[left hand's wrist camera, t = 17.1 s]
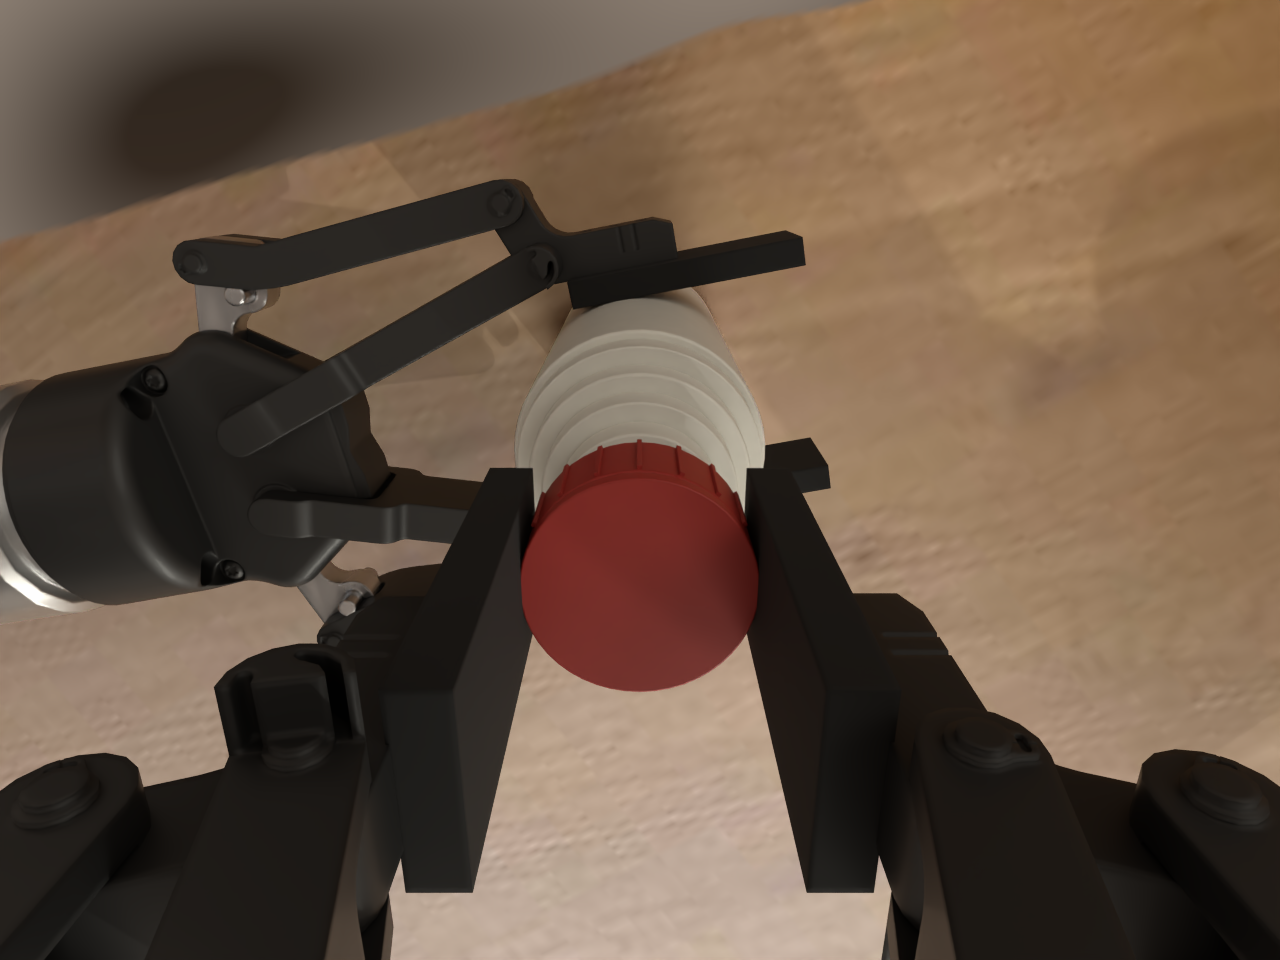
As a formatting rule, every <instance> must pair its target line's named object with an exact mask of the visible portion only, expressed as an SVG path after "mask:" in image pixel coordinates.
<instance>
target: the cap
mask: <svg viewBox="0 0 1280 960" xmlns="http://www.w3.org/2000/svg"><path fill="white" fill-rule="evenodd" d="M531 526H532V530H531V533H530V536H529V540H528V543H527V546H526V550H525V553H524V556H523V559H522V563H521V589H522V605H523V613H524V616H525V619H526V621H527V623H528V626H529V628H530V630H531V632H532V633H533V635H534V637H535V638H536V640H537V641H538V643H539V644H540V645H541V647H542V648H543V649H544V650H545V651H546V653H547V654H548V655H549V656H550V657H552V658H553V659H554V660H555V661H556V662H557V663H558V664H559V665H561V666H562V667H563V668H565V669H566V670H568V671H569V672H571V673H572V674H574V675H576V676H578V677H580V678H581V679H584V680H586V681H588V682H591V683H593V684H596V685H599V686H603V687H606V688H610V689H615V690H621V691H633V692H646V691H658V690H664V689H670V688H673V687H677V686H680V685H683V684H686V683H688V682H691V681H693V680H696V679H698V678H700V677H701V676H703V675H705V674H707V673H709V672H710V671H712V670H713V669H714V668H716V667H717V666H718V665H720V664H721V663H722V662H723V661H724V660H726V659H727V658H728V657H729V656H730V655H731V654H732V653H733V652H734V650H735V649H736V648H737V647H738V645H739V644H740V643H741V642H742V640H743V638H744V637H745V635H746V634H747V632H748V630H749V628H750V626H751V624H752V621H753V619H754V617H755V613H756V609H757V597H758V579H759V568H758V562H757V559H756V556H755V552H754V549H753V546H752V542H751V539H750V536H749V532H748V529H747V526H748V524H747V521H746V517H745V514H744V511H743V507H742V504H741V501H740V498H739V494H738V493H737V491H736V492H734V493H733V491H732V490H731V488H730V487H729V485H728V484H727V482H726V481H725V480H724V479H723V478H722V477H721V476H720V475H719V474H718V473H717V472H716V469H715V466H714V465H713V464H712V463H711V464H710V465H708V464H707V463H705V462H704V461H702V460H700V459H699V458H697V457H696V456H694V455H692V454H690V453H687V452H685V451H683V450H682V449H681V446H678V445H677V446H676V448H674V447H671V446H668V445H662V444H657V443H647V442H642V439H637V442H633V443H622V444H617V445H612V446H608V447H605V448H603V446H602V445H601V446H598V448H597V450H596V451H594V452H592V453H590V454H588V455H585V456H583V457H582V458H580V459H579V460H577V461H576V462H574V463H573V464H571V465H570V466H569V465H568V464H566V465H565V466H564V468H563V472H562V473H561V474H560V475H559V476H558V477H557V478H556V479H555V481H554V482H553V483H552V484H551V486H550V487H549V489H548V490H547V492H546V493H544V492H542V493H541V495H540V498H539V501H538V505H537V508H536V511H535V514H534V517H533V521H532V524H531Z"/></svg>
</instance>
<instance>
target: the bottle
mask: <svg viewBox="0 0 1280 960" xmlns="http://www.w3.org/2000/svg"><path fill="white" fill-rule="evenodd" d="M637 439H642V442H647V443H657V444H662V445H668V446H671V447H674V448H676V446H677V445H678V446H681V449H682V450H683V451H685V452H687V453H690V454H692V455H694V456H696V457H697V458H699V459H700V460H702V461H704V462H705V463H707V464H708V465H710V464H711V463H712V464H713V465H714V466H715V469H716V472H717V473H718V474H719V475H720V476H721V477H722V478H723V479H724V480H725V481H726V482H727V484H728V485H729V487H730V488H731V490H732V491H733V493H734V492H736V491H737V493H738V494H739V498H740V501H741V504H742V507H743V511H744V510H745V490H746V470H747V468H763V466H764V460H765V438H764V429H763V424H762V420H761V416H760V412H759V410H758V407H757V405H756V403H755V400H754V398H753V396H752V394H751V392H750V390H749V388H748V386H747V384H746V382H745V380H744V378H743V376H742V374H741V372H740V370H739V368H738V366H737V364H736V362H735V360H734V358H733V356H732V354H731V352H730V350H729V348H728V346H727V344H726V342H725V340H724V338H723V336H722V334H721V332H720V330H719V328H718V326H717V324H716V323H715V321H714V319H713V317H712V315H711V313H710V311H709V309H708V307H707V306H706V304H705V302H704V301H703V300H702V298H701V297H700V296H699V294H698V293H697V292H696V291H695V290H694V289H693V288H692V287H689V288H684V289H679V290H673V291H668V292H663V293H658V294H653V295H647V296H642V297H637V298H632V299H627V300H621V301H615V302H611V303H606V304H601V305H595V306H590V307H585V308H580V309H574V310H573V307H572V308H571V310H570V312H569V314H568V316H567V318H566V320H565V322H564V324H563V326H562V328H561V330H560V332H559V334H558V336H557V338H556V340H555V342H554V344H553V346H552V348H551V350H550V352H549V354H548V356H547V358H546V360H545V362H544V364H543V366H542V368H541V370H540V371H539V373H538V375H537V377H536V379H535V381H534V383H533V385H532V387H531V389H530V391H529V393H528V395H527V397H526V399H525V401H524V403H523V406H522V409H521V412H520V415H519V418H518V421H517V427H516V432H515V445H514V453H515V464H516V468H533V481H534V501H535V511H536V508H537V505H538V501H539V498H540V495H541V493H542V492H544V493H546V492H547V490H548V489H549V487H550V486H551V484H552V483H553V482H554V481H555V479H556V478H557V477H558V476H559V475H560V474H561V473H562V472H563V468H564V466H565V465H566V464H568V465H569V466H570V465H571V464H573V463H574V462H576V461H577V460H579V459H580V458H582V457H583V456H585V455H588V454H590V453H592V452H594V451H596V450H597V448H598V446H601V445H602V446H603V448H605V447H608V446H612V445H617V444H622V443H633V442H637Z"/></svg>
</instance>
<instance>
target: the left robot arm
mask: <svg viewBox="0 0 1280 960" xmlns="http://www.w3.org/2000/svg"><path fill="white" fill-rule="evenodd" d="M534 514H535V501H534V481H533V468H490V469H489V471H488V473H487V475H486V477H485V479H484V481H483V483H482V485H481V487H480V489H479V491H478V493H477V495H476V497H475V499H474V501H473V503H472V505H471V507H470V509H469V511H468V513H467V515H466V517H465V519H464V521H463V523H462V525H461V527H460V529H459V531H458V533H457V534H456V536H455V538H454V540H453V542H452V544H451V546H450V548H449V550H448V552H447V554H446V556H445V558H444V560H443V562H442V564H441V566H440V568H439V570H438V572H437V574H436V576H435V578H434V580H433V582H432V584H431V586H430V588H429V590H428V592H427V594H426V596H382V597H381V598H379V599H378V600H376V601H375V602H374V603H372V604H371V605H369V606H368V607H366V608H365V609H364V610H362V611H361V612H359V613H358V614H357V615H356V616H355V618H354V619H353V621H352V622H351V624H350V626H349V627H348V629H347V630H346V632H345V633H344V635H343V640H340V641H339V643H338V644H337V646H336V647H334V646H330V645H326V644H295V645H289V646H284V647H279V648H274V649H271V650H268V651H265V652H263V653H260V654H258V655H255V656H252V657H250V658H247V659H246V660H244V661H243V662H241V663H240V664H238V665H236V666H235V667H233V668H232V669H230V670H229V671H227V672H226V673H225V674H224V676H223V677H222V678H221V679H220V680H219V682H218V683H217V684H216V685H215V686H214V690H215V694H216V699H217V703H218V708H219V712H220V717H221V721H222V726H223V730H224V735H225V739H226V743H227V748H228V752H229V758H228V760H227V763H226V765H225V768H223V769H220V770H216V771H213V772H209V773H206V774H202V775H198V776H193V777H189V778H184V779H179V780H175V781H170V782H165V783H161V784H156V785H151V786H147V787H143V784H142V780H141V777H140V773H139V769H138V767H137V766H136V765H135V764H134V763H132V762H131V761H130V760H129V759H128V758H127V757H124V756H119V755H114V754H109V753H98V754H88V755H78V756H74V757H70V758H66V759H64V760H58V761H55V762H52V763H50V764H47V765H44V766H42V767H41V768H39V769H36V770H34V771H32V772H30V773H28V774H26V775H24V776H22V777H20V778H18V779H16V780H15V781H13V782H12V783H10V784H9V785H8V786H6V787H5V788H4V789H2V790H1V791H0V960H390V955H391V946H392V936H393V920H392V913H391V906H390V899H389V890H390V887H391V884H392V882H393V879H394V876H395V873H396V870H397V867H398V864H399V862H400V859H401V862H402V869H403V876H404V884H405V891H406V893H473V889H474V885H475V880H476V876H477V872H478V867H479V863H480V859H481V854H482V850H483V846H484V841H485V837H486V833H487V829H488V824H489V820H490V816H491V811H492V807H493V803H494V798H495V794H496V790H497V785H498V781H499V777H500V772H501V768H502V764H503V759H504V755H505V751H506V746H507V742H508V738H509V734H510V729H511V725H512V721H513V716H514V712H515V708H516V703H517V699H518V695H519V690H520V686H521V682H522V677H523V673H524V669H525V664H526V660H527V656H528V651H529V647H530V643H531V638H532V634H533V633H532V632H531V630H530V628H529V626H528V623H527V621H526V619H525V616H524V613H523V605H522V589H521V563H522V559H523V556H524V553H525V550H526V546H527V543H528V540H529V536H530V533H531V530H532V526H531V524H532V521H533V517H534ZM744 514H745V517H746V521H747V524H748V526H747V529H748V532H749V536H750V539H751V542H752V546H753V549H754V552H755V556H756V559H757V562H758V568H759V579H758V597H757V609H756V613H755V617H754V619H753V621H752V624H751V626H750V628H749V630H748V632H747V636H748V641H749V645H750V649H751V654H752V658H753V662H754V667H755V671H756V675H757V680H758V684H759V688H760V693H761V697H762V701H763V706H764V710H765V714H766V719H767V723H768V727H769V732H770V736H771V740H772V744H773V749H774V753H775V757H776V762H777V766H778V770H779V775H780V779H781V783H782V788H783V792H784V796H785V801H786V805H787V809H788V814H789V818H790V822H791V827H792V831H793V835H794V840H795V844H796V848H797V852H798V857H799V861H800V865H801V870H802V874H803V878H804V883H805V887H806V891H807V893H874V887H875V880H876V872H877V865H878V858H879V856H880V859H881V862H882V865H883V868H884V871H885V873H886V876H887V879H888V882H889V885H890V888H891V891H892V892H891V899H890V906H889V913H888V919H887V926H886V933H885V940H884V946H883V953H882V960H1280V787H1279V786H1278V785H1277V784H1275V783H1274V782H1272V781H1271V780H1270V779H1268V778H1267V777H1266V776H1264V775H1262V774H1260V773H1258V772H1256V771H1254V770H1252V769H1250V768H1248V767H1245V766H1243V765H1241V764H1239V763H1238V762H1235V761H1233V760H1230V759H1227V758H1224V757H1221V756H1220V757H1219V756H1216V755H1213V754H1209V753H1205V752H1199V751H1189V750H1178V749H1174V750H1169V751H1164V752H1159V753H1154V754H1153V755H1152V756H1151V757H1149V758H1148V759H1147V760H1146V761H1145V762H1144V763H1143V764H1142V767H1141V771H1140V774H1139V778H1138V781H1137V784H1135V783H1131V782H1126V781H1121V780H1117V779H1112V778H1107V777H1102V776H1098V775H1093V774H1088V773H1084V772H1079V771H1076V770H1072V769H1069V768H1065V767H1062V766H1058V765H1056V764H1054V761H1053V759H1052V757H1051V755H1050V753H1049V752H1048V750H1047V749H1046V748H1045V746H1044V745H1043V743H1042V742H1041V741H1040V739H1039V738H1038V737H1036V736H1035V735H1034V734H1032V733H1031V732H1030V731H1028V730H1027V729H1026V728H1024V727H1023V726H1022V725H1020V724H1019V723H1016V722H1014V721H1012V720H1010V719H1007V718H1005V717H1003V716H1001V715H998V714H996V713H992V712H988V711H987V710H986V708H985V707H984V705H983V704H982V702H981V701H980V699H979V698H978V696H977V695H976V693H975V691H974V690H973V688H972V687H971V685H970V684H969V682H968V681H967V679H966V677H965V676H964V674H963V673H962V671H961V670H960V668H959V667H958V665H957V664H956V662H955V660H954V659H953V657H952V656H951V655H948V650H947V648H946V646H945V645H944V643H943V642H942V640H941V639H940V637H937V632H936V631H935V629H934V628H933V626H932V625H931V623H930V622H929V620H928V619H927V617H926V615H925V614H924V612H923V611H921V610H920V609H918V608H917V607H916V606H914V605H913V604H911V603H910V602H908V601H907V600H906V599H904V598H903V597H901V596H900V595H898V594H897V593H852V591H851V589H850V587H849V585H848V583H847V581H846V579H845V577H844V575H843V573H842V571H841V569H840V567H839V565H838V563H837V561H836V559H835V557H834V555H833V553H832V551H831V549H830V547H829V546H828V544H827V542H826V540H825V538H824V536H823V534H822V532H821V530H820V528H819V526H818V524H817V522H816V520H815V518H814V516H813V514H812V512H811V510H810V508H809V506H808V504H807V502H806V500H805V498H804V496H803V494H802V492H801V490H800V488H799V486H798V484H797V482H796V480H795V478H794V476H793V474H792V472H791V470H790V468H747V470H746V490H745V510H744Z"/></svg>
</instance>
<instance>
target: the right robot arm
mask: <svg viewBox="0 0 1280 960" xmlns="http://www.w3.org/2000/svg"><path fill="white" fill-rule="evenodd" d="M491 230H495V231H496V232H497V234H498V235H499V237H500V238H501V240H502V242H503V243H504V245H505V246H506V248H507V250H508V251H509V253H510V254H511V256H509V257H507V258H505V259H504V260H502V261H500V262H498V263H497V264H495V265H493V266H491V267H490V268H488V269H486V270H484V271H482V272H481V273H479V274H477V275H475V276H474V277H472V278H470V279H468V280H467V281H465V282H463V283H461V284H460V285H458V286H456V287H454V288H453V289H451V290H449V291H447V292H446V293H444V294H442V295H440V296H439V297H437V298H435V299H433V300H431V301H430V302H428V303H426V304H424V305H423V306H421V307H419V308H417V309H416V310H414V311H412V312H410V313H409V314H407V315H405V316H403V317H402V318H400V319H398V320H396V321H395V322H393V323H391V324H389V325H388V326H386V327H384V328H382V329H380V330H379V331H377V332H375V333H373V334H372V335H370V336H368V337H366V338H364V339H363V340H361V341H359V342H357V343H356V344H354V345H352V346H350V347H349V348H347V349H345V350H343V351H342V352H340V353H338V354H336V355H334V356H333V357H331V358H329V359H327V360H326V361H324V362H323V361H321V360H319V359H316V358H314V357H312V356H310V355H307V354H305V353H303V352H300V351H298V350H296V349H294V348H291V347H289V346H287V345H284V344H282V343H280V342H278V341H275V340H273V339H271V338H268V337H266V336H264V335H262V334H259V333H257V332H255V331H252V330H250V329H248V328H247V321H248V318H249V316H250V315H251V314H252V313H254V312H258V311H260V310H263V309H266V308H269V307H271V306H273V305H274V304H275V303H276V302H277V301H278V299H279V296H280V287H283V286H288V285H292V284H296V283H299V282H303V281H307V280H310V279H314V278H318V277H322V276H325V275H329V274H333V273H336V272H340V271H344V270H347V269H351V268H355V267H358V266H362V265H366V264H369V263H373V262H377V261H381V260H384V259H388V258H392V257H395V256H399V255H403V254H406V253H410V252H414V251H417V250H421V249H425V248H428V247H432V246H436V245H440V244H443V243H447V242H451V241H454V240H458V239H462V238H465V237H469V236H473V235H476V234H480V233H484V232H487V231H491ZM172 261H173V264H174V268H175V270H176V271H177V273H178V274H179V276H180V277H181V278H183V279H184V280H185V281H187V282H188V283H192V284H195V293H196V304H197V314H198V325H199V332H197V333H194V334H192V335H191V336H189V337H188V338H187V339H185V340H184V341H183V342H182V344H181V345H180V346H179V347H178V348H177V349H175V350H174V351H172V352H170V353H165V354H160V355H155V356H150V357H144V358H139V359H134V360H129V361H124V362H119V363H114V364H108V365H103V366H98V367H93V368H88V369H83V370H78V371H72V372H67V373H63V374H59V375H55V376H53V377H50V378H48V379H46V380H26V381H21V382H16V383H11V384H6V385H1V386H0V625H2V624H9V623H15V622H22V621H28V620H35V619H41V618H48V617H55V616H61V615H68V614H74V613H81V612H86V611H89V610H93V609H96V608H100V607H103V606H105V605H121V604H128V603H134V602H139V601H145V600H151V599H157V598H163V597H168V596H174V595H180V594H186V593H192V592H197V591H203V590H209V589H213V588H218V587H222V586H226V585H230V584H233V583H237V582H241V581H247V580H255V581H263V582H268V583H271V584H274V585H278V586H283V587H296V586H297V587H298V589H299V590H300V591H301V593H302V594H303V595H304V597H305V598H306V599H307V601H308V602H309V603H310V605H311V606H312V607H313V609H314V610H315V611H316V613H317V614H318V615H319V617H320V618H321V619H322V621H323V622H324V625H323V626H322V627H321V629H320V630H319V632H318V635H317V642H318V644H326V645H330V646H334V647H336V646H337V644H338V643H339V641H340V640H343V635H344V633H345V632H346V630H347V629H348V627H349V626H350V624H351V622H352V621H353V619H354V618H355V616H356V615H357V614H358V613H359V612H361V611H362V610H364V609H365V608H366V607H368V606H369V605H371V604H372V603H374V602H375V601H376V600H378V599H379V598H381V597H382V596H426V594H427V592H428V590H429V588H430V586H431V584H432V582H433V580H434V578H435V576H436V574H437V572H438V570H439V568H440V566H441V564H433V565H424V566H415V567H409V568H403V569H399V570H395V571H392V572H388V573H386V574H384V575H381V576H379V577H378V573H377V572H376V571H375V570H374V569H372V568H365V569H358V570H352V571H345V570H342V569H339V568H338V567H336V566H335V565H334V564H333V563H332V562H331V560H332V559H333V558H334V556H335V555H336V554H337V553H338V552H339V551H340V550H341V549H342V548H343V546H344V545H345V544H346V543H347V542H348V541H349V540H351V541H360V542H370V543H379V544H388V543H393V542H396V541H399V540H403V539H412V540H421V541H431V542H440V543H450V544H452V542H453V540H454V538H455V536H456V534H457V533H458V531H459V529H460V527H461V525H462V523H463V521H464V519H465V517H466V515H467V513H468V511H469V509H470V507H471V505H472V503H473V501H474V499H475V497H476V495H477V493H478V491H479V489H480V487H481V485H482V483H483V482H476V481H467V480H458V479H449V478H440V477H430V476H425V475H423V474H422V473H421V472H420V471H417V470H414V469H408V468H399V467H390V466H388V464H387V461H386V458H385V455H384V453H383V451H382V449H381V448H380V446H379V445H378V443H377V442H376V440H375V438H374V437H373V435H372V433H371V430H370V409H369V405H368V402H367V399H366V396H365V392H364V390H365V389H366V388H368V387H370V386H371V385H373V384H375V383H377V382H379V381H380V380H382V379H384V378H386V377H388V376H389V375H391V374H393V373H395V372H397V371H398V370H400V369H402V368H404V367H406V366H407V365H409V364H411V363H413V362H415V361H416V360H418V359H420V358H422V357H424V356H425V355H427V354H429V353H431V352H433V351H434V350H436V349H438V348H440V347H442V346H443V345H445V344H447V343H449V342H451V341H452V340H454V339H456V338H458V337H460V336H461V335H463V334H465V333H467V332H469V331H470V330H472V329H474V328H476V327H478V326H479V325H481V324H483V323H485V322H487V321H488V320H490V319H492V318H494V317H496V316H497V315H499V314H501V313H503V312H505V311H506V310H508V309H510V308H512V307H514V306H515V305H517V304H519V303H521V302H523V301H524V300H526V299H528V298H530V297H532V296H533V295H535V294H537V293H539V292H541V291H542V290H544V289H546V288H547V289H549V288H550V287H551V286H552V285H553V284H558V283H563V282H567V284H568V288H569V293H570V297H571V302H572V307H573V310H574V309H580V308H585V307H590V306H595V305H601V304H606V303H611V302H615V301H621V300H627V299H632V298H637V297H642V296H647V295H653V294H658V293H663V292H668V291H673V290H679V289H684V288H689V287H694V286H700V285H705V284H710V283H715V282H720V281H726V280H731V279H736V278H741V277H746V276H752V275H757V274H762V273H767V272H773V271H778V270H783V269H788V268H793V267H799V266H804V265H806V264H805V255H804V246H803V237H801V236H799V235H796V234H793V233H791V232H788V231H786V230H785V231H780V232H775V233H770V234H765V235H759V236H754V237H749V238H744V239H739V240H734V241H729V242H724V243H718V244H713V245H708V246H703V247H698V248H693V249H688V250H683V251H677V248H676V242H675V236H674V230H673V224H672V222H671V221H670V220H665V219H660V218H655V217H649V218H644V219H639V220H634V221H629V222H624V223H620V224H614V225H609V226H604V227H599V228H594V229H589V230H584V231H579V232H572V233H567V232H562V231H560V230H557V229H555V228H554V227H553V226H552V225H550V223H549V222H548V221H547V220H546V218H545V216H544V215H543V213H542V212H541V210H540V208H539V207H538V205H537V203H536V202H535V200H534V198H533V194H532V192H531V190H530V188H529V187H528V186H527V185H526V184H525V183H524V182H522V181H519V180H516V179H500V180H493V181H489V182H486V183H482V184H478V185H475V186H471V187H467V188H464V189H460V190H457V191H453V192H449V193H446V194H442V195H439V196H435V197H431V198H428V199H424V200H421V201H417V202H413V203H410V204H406V205H403V206H399V207H395V208H392V209H388V210H384V211H381V212H377V213H374V214H370V215H366V216H363V217H359V218H356V219H352V220H348V221H345V222H341V223H338V224H334V225H330V226H327V227H323V228H319V229H316V230H312V231H309V232H305V233H301V234H298V235H294V236H291V237H287V238H283V239H278V238H268V237H259V236H249V235H239V234H229V235H222V236H213V237H207V238H200V239H195V240H188V241H183V242H182V243H180V244H179V245H177V247H176V248H175V250H174V252H173V260H172ZM763 468H790V470H791V472H792V474H793V476H794V478H795V480H796V482H797V484H798V486H799V488H800V490H801V492H802V493H806V492H811V491H817V490H823V489H829V488H831V487H830V478H829V469H828V464H827V463H826V461H825V460H824V458H823V457H822V455H821V453H820V452H819V450H818V449H817V447H816V446H815V444H814V443H813V441H812V439H811V438H805V439H799V440H793V441H788V442H782V443H776V444H771V445H765V460H764V466H763Z"/></svg>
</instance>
